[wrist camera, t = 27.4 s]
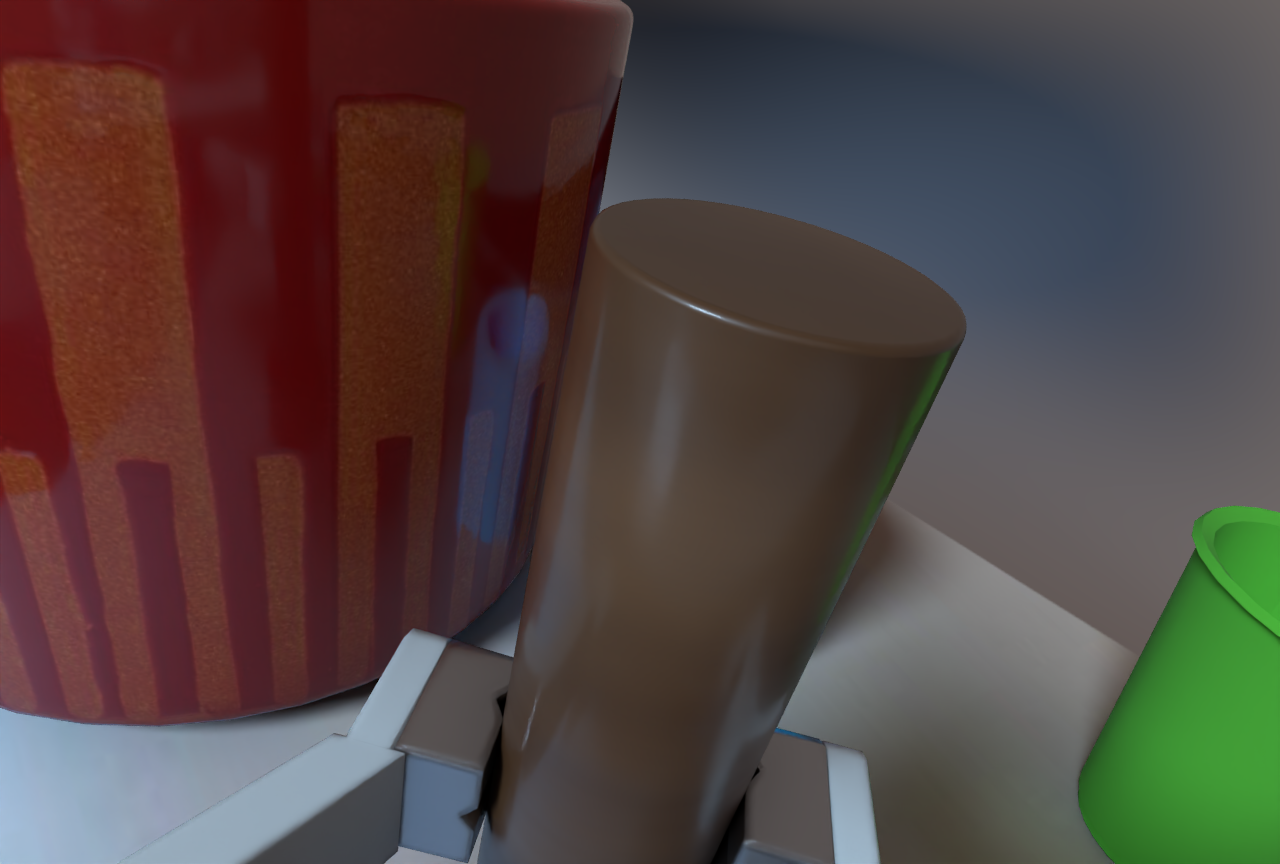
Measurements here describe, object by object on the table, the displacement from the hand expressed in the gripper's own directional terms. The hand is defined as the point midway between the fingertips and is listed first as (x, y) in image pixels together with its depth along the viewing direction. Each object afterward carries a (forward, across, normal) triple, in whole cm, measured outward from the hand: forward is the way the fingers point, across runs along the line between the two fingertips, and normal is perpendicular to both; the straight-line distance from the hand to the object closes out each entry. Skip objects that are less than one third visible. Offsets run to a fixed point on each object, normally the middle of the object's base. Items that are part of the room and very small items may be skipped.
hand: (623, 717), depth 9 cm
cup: (+12, -20, +13) cm, 26 cm away
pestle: (-1, 0, +10) cm, 10 cm away
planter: (+16, +16, +13) cm, 26 cm away
